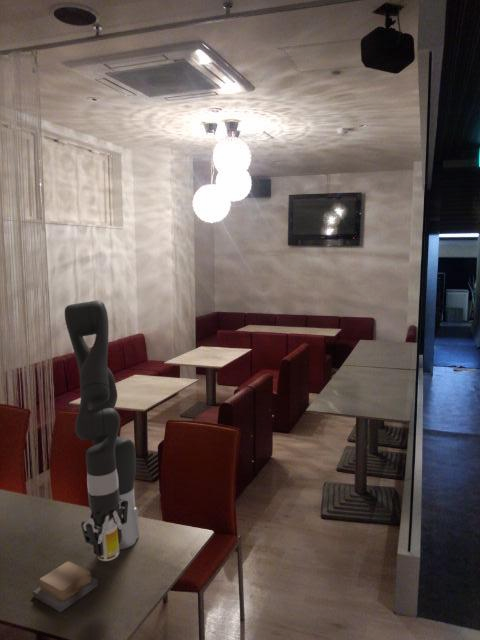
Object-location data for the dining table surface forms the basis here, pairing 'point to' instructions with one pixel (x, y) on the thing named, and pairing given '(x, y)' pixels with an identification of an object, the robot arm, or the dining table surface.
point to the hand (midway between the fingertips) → (108, 548)
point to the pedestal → (64, 586)
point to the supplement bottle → (110, 541)
